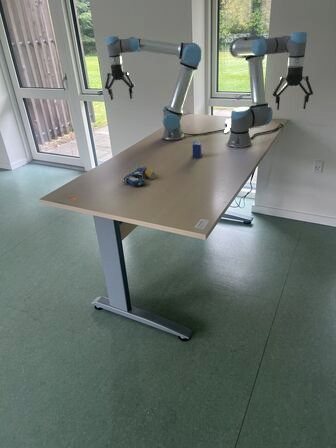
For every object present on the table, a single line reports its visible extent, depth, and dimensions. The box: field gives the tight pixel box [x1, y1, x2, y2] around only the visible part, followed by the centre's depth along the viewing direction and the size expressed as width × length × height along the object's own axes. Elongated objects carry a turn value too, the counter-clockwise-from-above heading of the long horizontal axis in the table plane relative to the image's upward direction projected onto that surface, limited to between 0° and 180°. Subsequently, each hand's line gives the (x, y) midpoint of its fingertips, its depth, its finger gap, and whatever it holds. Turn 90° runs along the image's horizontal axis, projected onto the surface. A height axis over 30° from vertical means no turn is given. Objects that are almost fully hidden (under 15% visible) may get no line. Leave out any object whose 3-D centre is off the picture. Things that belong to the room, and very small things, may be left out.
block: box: [191, 141, 203, 159], centre depth 209 cm, size 5×6×9 cm
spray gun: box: [122, 166, 157, 187], centre depth 186 cm, size 21×4×15 cm
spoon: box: [223, 117, 231, 134], centre depth 262 cm, size 35×11×2 cm, turn 159°
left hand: (121, 99), depth 223 cm, fingers open, 13 cm apart
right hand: (290, 109), depth 182 cm, fingers open, 13 cm apart
